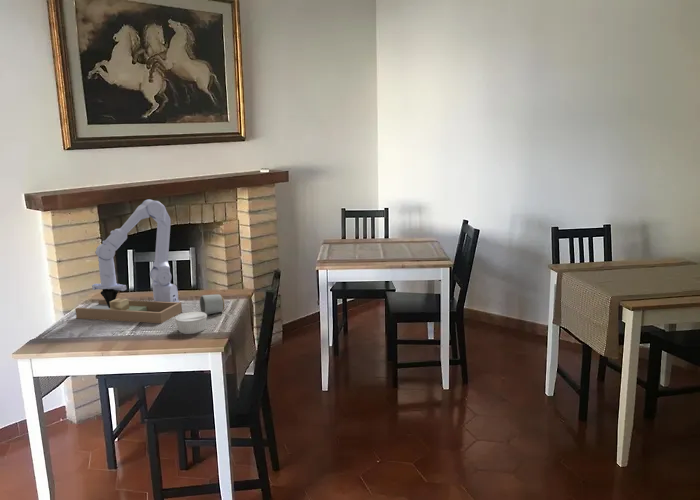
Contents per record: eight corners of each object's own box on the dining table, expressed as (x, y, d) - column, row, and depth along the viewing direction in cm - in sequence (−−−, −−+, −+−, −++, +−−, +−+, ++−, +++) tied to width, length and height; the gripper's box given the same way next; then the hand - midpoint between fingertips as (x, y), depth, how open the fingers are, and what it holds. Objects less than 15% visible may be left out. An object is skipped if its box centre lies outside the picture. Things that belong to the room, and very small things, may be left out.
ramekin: (191, 337, 203) (190, 322, 202) (169, 332, 209) (168, 318, 208) (214, 327, 212) (213, 313, 211) (193, 323, 218) (191, 310, 217)
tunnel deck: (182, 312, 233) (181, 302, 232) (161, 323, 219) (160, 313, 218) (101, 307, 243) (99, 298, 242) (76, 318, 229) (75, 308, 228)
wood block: (129, 308, 233) (128, 298, 232) (121, 312, 228) (120, 302, 228) (118, 307, 235) (117, 298, 234) (110, 311, 230) (109, 301, 229)
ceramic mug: (226, 313, 229) (224, 294, 228) (205, 317, 225) (204, 297, 223) (217, 307, 238) (215, 289, 237) (197, 311, 234) (195, 292, 232)
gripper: (85, 275, 228) (89, 309, 231) (116, 277, 224) (120, 311, 227) (97, 271, 235) (101, 304, 237) (128, 272, 231) (131, 305, 233)
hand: (111, 307), depth 233 cm, fingers closed
